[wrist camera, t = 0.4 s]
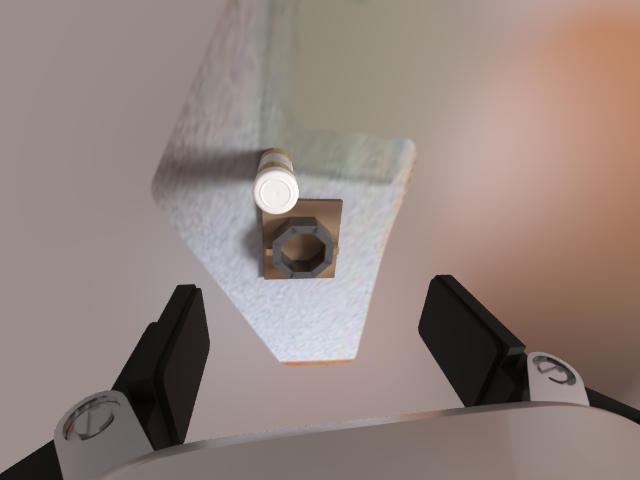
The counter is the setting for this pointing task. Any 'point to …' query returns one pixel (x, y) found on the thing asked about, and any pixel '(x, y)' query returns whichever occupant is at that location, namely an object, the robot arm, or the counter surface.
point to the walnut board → (302, 243)
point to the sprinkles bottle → (275, 183)
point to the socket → (302, 267)
